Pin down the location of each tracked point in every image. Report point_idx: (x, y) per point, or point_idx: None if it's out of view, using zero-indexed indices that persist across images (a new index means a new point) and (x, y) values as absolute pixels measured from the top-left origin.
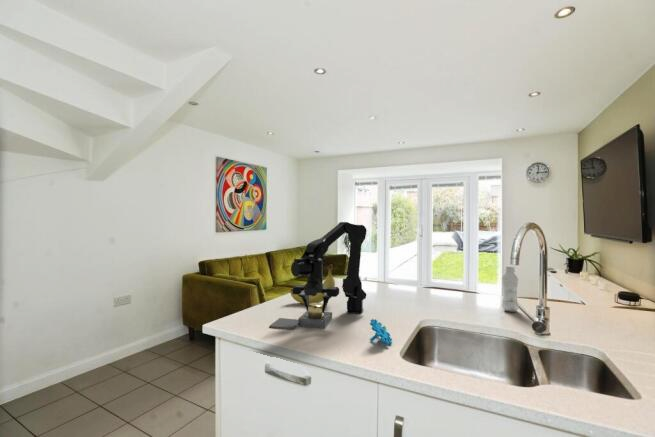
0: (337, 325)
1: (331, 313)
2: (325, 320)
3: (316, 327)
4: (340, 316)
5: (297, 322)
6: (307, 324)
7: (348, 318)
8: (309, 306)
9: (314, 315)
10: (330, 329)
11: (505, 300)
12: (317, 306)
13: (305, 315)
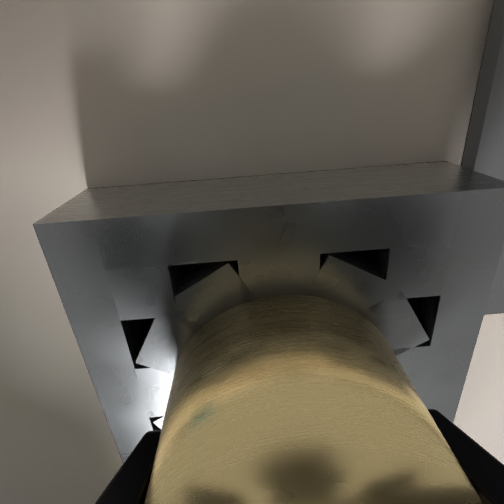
0: (18, 319)
1: None
2: (42, 244)
3: (201, 180)
4: None
5: None
6: (330, 177)
7: (39, 480)
8: (434, 469)
9: (266, 317)
10: (8, 180)
11: None
12: None
13: (425, 337)
